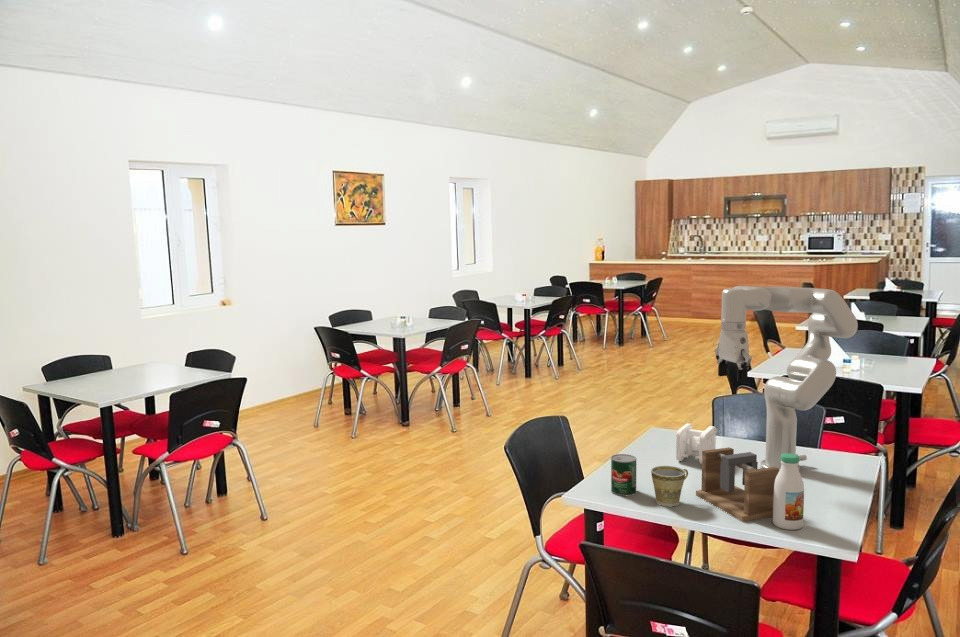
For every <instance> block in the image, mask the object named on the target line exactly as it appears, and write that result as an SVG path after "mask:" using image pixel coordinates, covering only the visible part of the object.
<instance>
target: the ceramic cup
mask: <svg viewBox="0 0 960 637" xmlns="http://www.w3.org/2000/svg"><path fill="white" fill-rule="evenodd" d="M650 473H651V479H652V484H653V489H654V495H655V501H656V504H657V503H658V504H657V505H659V504H660V505H659V506H661V505H662V506H661V507H666V506H674V507H676V505H677V506H679V505H680V499H681V495H682V489H683V486H684V482H685V480H686V479H687V478H688V476H689V471H688V469H686V468H680V467H678V466H674V465H658V466H654V467H652V468H651V469H650Z"/></svg>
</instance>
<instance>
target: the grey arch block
mask: <svg viewBox="0 0 960 637" xmlns="http://www.w3.org/2000/svg"><path fill="white" fill-rule="evenodd" d="M742 463H744V464H746V465H748V466H750V467H753V468H755V469H758V463H759V462H758V460H757V454H756V453H753V452H751V451H748V452H739V453H734V454H732V455H725V456H722V462H721V468H720V488H721V489H723V490H725V491H727V492H734V488H735V486H736V483H735V480H736V477H735V476H736V466H735V464H742ZM745 471H746V470H744V469H742V481H741V482H742V485H743V486H744V484H745Z"/></svg>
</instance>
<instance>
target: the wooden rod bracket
mask: <svg viewBox="0 0 960 637" xmlns="http://www.w3.org/2000/svg"><path fill="white" fill-rule="evenodd" d="M734 452H735V451H734V448H732V447H731V446H730V447H721V448H715V449H713V450H705V451H702V464H701V489H699V490H695V496H696V497H698V498H699V497H700V499H701V498H702V499H701V500H703V499H704V500H703V501H705V500H706V501H705V502H706V503H708V502H709V504H710V503H711V504H710V505H712V504H713V505H712V506H713V507H715V506H716V507H715V508H717V507H718V508H717V509H719V508H720V509H719V510H721V509H722V510H723V512H724V511H725V512H724V513H726V512H727V513H726V514H728V513H729V514H731V515H732V516H731V515H730V516H731V517H733V516H734V517H733V518H735V519H736V518H737V519H736V520H738V519H739V521H740V522H743V521H745V522H750V520H751V521H756V519H757V520H760V519H761V520H762V519H768V518H773V498H774V483H775V479H776V476H777V475H778V473H779V468H776V467H767V468H762V467H761V468H757V469H755V468H753V467H750V466H748V465H746V464H744V463H742V464H735V467H737V468H740V469H741V470H743V469H744V470H746V471H745V484H744V485H743V486H744V489H743V488H741V487H738V486H737V485H735V488H734V492H727V491H725V490H723V489H721V488H720V468H721V462H722V456H725V455H732V454H735V453H734ZM722 510H721V511H722ZM729 514H728V515H729ZM743 523H744V522H743Z"/></svg>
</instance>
